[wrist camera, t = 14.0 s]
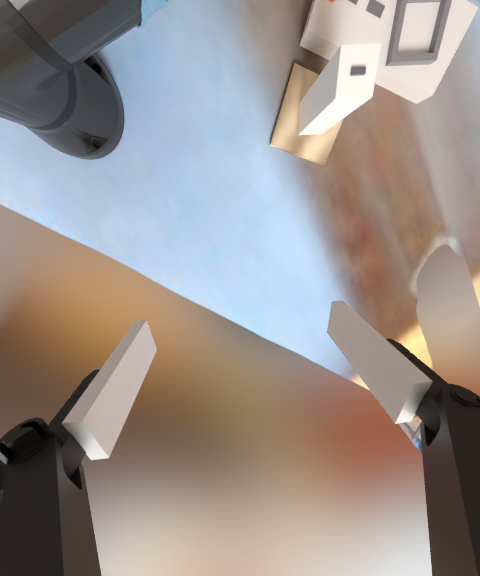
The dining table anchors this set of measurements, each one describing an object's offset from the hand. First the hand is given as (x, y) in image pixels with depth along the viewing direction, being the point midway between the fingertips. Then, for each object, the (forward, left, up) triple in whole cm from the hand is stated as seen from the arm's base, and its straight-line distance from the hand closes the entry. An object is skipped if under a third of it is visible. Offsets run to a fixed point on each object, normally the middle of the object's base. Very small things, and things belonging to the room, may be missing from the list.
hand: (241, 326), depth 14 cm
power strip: (+13, +38, -31) cm, 51 cm away
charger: (+7, +25, -30) cm, 40 cm away
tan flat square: (+7, +25, -31) cm, 40 cm away
